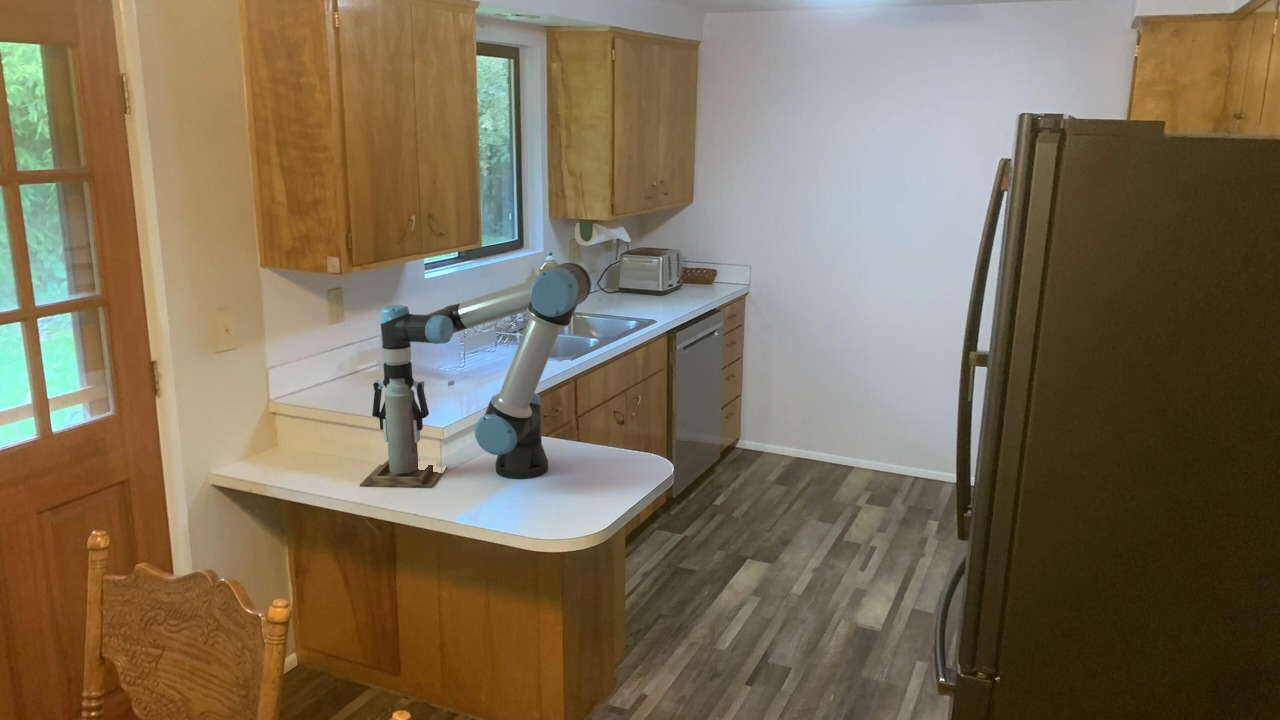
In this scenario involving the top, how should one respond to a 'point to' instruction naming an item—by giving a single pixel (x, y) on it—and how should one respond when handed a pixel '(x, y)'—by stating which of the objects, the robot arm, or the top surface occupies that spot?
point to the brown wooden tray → (401, 478)
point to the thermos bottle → (400, 427)
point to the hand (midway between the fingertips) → (402, 440)
